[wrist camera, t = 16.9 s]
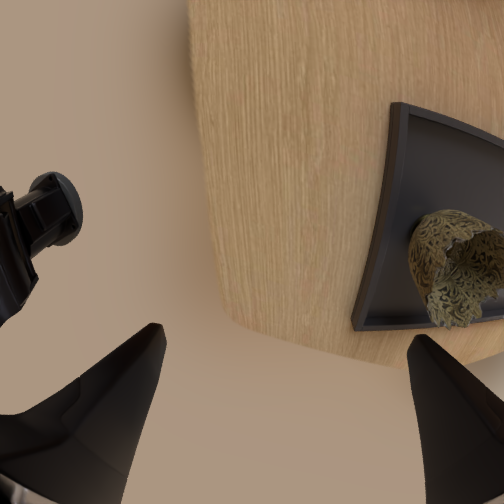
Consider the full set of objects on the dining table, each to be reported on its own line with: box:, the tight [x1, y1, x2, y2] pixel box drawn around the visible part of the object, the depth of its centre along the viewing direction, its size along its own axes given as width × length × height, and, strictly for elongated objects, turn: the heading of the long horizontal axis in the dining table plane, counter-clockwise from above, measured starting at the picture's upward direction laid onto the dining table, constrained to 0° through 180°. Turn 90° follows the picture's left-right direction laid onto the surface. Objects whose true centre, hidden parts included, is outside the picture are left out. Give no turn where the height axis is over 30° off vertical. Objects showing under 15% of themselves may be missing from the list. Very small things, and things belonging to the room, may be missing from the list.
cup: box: [408, 209, 504, 330], centre depth 16 cm, size 8×7×8 cm
